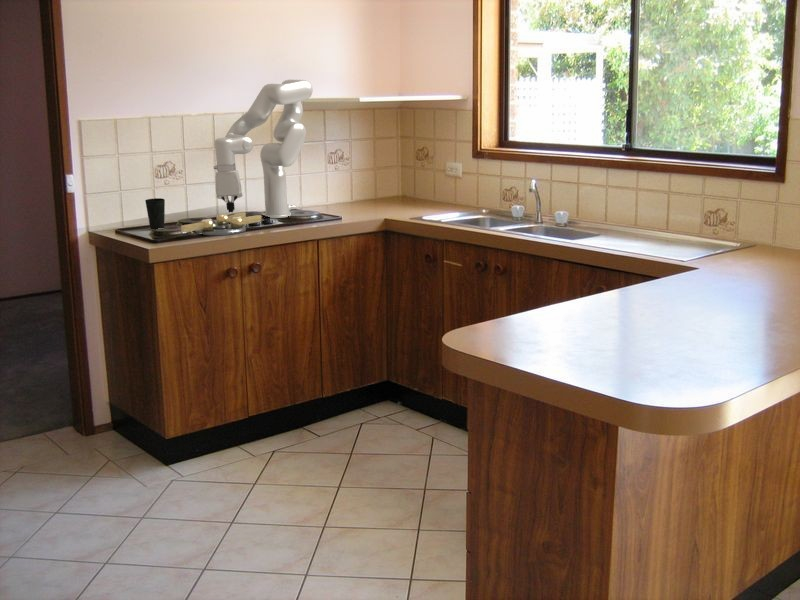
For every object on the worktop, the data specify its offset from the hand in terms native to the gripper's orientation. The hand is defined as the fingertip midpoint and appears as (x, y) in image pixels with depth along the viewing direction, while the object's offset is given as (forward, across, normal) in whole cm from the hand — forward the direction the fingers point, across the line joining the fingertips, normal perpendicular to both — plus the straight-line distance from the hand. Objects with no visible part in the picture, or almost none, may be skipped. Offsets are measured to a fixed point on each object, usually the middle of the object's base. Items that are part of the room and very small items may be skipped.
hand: (231, 211), depth 378 cm
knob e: (+2, -10, -24) cm, 26 cm away
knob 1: (+3, +1, -7) cm, 7 cm away
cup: (+4, -29, -9) cm, 31 cm away
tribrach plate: (+4, -2, -16) cm, 17 cm away
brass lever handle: (+3, +8, -13) cm, 16 cm away
